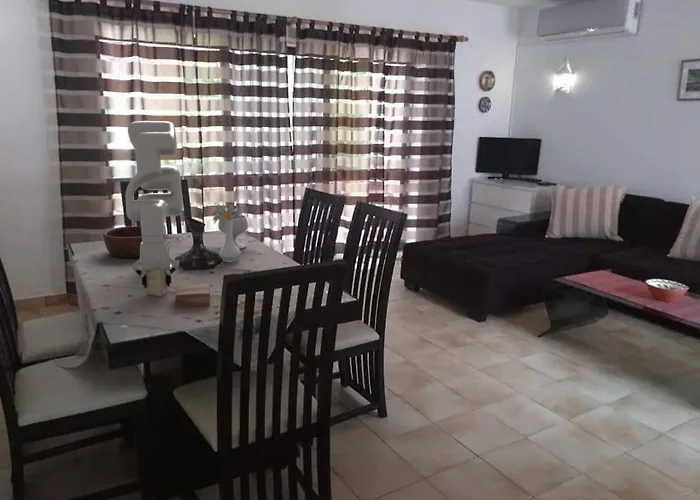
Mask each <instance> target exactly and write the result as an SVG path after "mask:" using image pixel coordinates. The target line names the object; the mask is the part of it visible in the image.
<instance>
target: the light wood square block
mask: <svg viewBox="0 0 700 500" xmlns="http://www.w3.org/2000/svg"><path fill="white" fill-rule="evenodd" d="M210 284H211V283H194V284H193V283H192V284H191V283H190V284H177V287H176V290H175V291H176V292H175V297H174V298H175V309H185V308H186V309H189V308H203V307H210V306H211V290H210V289H211V287H210V286H211V285H210Z"/></svg>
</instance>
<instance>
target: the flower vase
mask: <svg viewBox="0 0 700 500" xmlns="http://www.w3.org/2000/svg"><path fill="white" fill-rule="evenodd" d="M242 213H243V212H242V210H241V209H239V206H238V205H236V208H235V207H234V205H232V204H230V205H229V207H228V206H227V205H226V204H222V206H220V205H219V204H218V205H217V206H216V208H215V209H214V212H213V213H212V214H211V215H212V216H214V217H213V219H212V222H213V225H215V224H216V223H217V222H218V221H219V220H220V221H223V220H224V223H225V229H226V234H225V239H224V244H223V245H224V246H223V247H222V248H221V247H220V249H219V252H218V255H219V257H220V259H222V261H223V262H224V263H234V262H237V261H238V258H239V257H240V256H241V253H242V252H241V249H239V248H238V247H237V246H236V245H235V243H234V240H233V231H232V225H233V220H234V217H237V218H240V219H241V220H243V218H242V217H241V215H243V214H242ZM243 221H244V220H243Z"/></svg>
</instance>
